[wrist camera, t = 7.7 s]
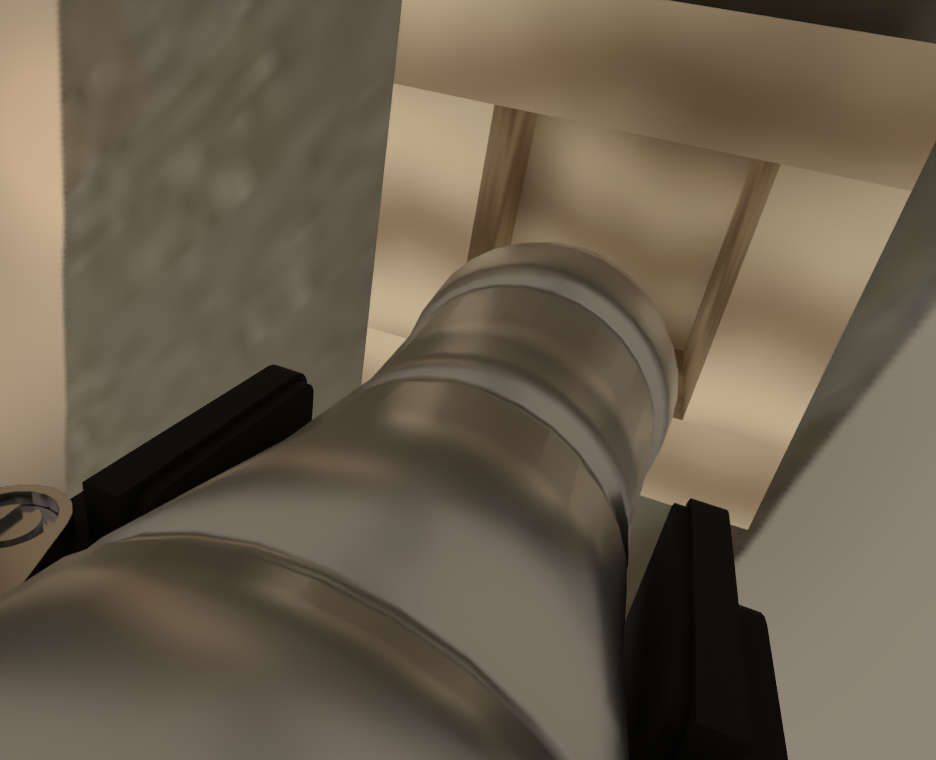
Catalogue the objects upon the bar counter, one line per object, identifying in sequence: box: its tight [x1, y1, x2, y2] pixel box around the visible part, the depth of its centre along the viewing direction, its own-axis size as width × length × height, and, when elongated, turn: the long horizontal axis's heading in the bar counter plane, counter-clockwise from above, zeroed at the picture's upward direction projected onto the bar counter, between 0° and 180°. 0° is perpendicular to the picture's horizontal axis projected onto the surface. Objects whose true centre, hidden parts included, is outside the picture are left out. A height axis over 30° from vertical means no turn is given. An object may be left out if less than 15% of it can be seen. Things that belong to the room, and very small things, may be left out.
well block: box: [362, 0, 936, 530], centre depth 28 cm, size 18×18×9 cm
